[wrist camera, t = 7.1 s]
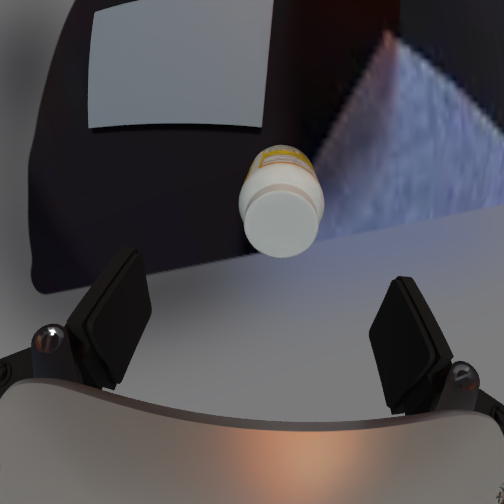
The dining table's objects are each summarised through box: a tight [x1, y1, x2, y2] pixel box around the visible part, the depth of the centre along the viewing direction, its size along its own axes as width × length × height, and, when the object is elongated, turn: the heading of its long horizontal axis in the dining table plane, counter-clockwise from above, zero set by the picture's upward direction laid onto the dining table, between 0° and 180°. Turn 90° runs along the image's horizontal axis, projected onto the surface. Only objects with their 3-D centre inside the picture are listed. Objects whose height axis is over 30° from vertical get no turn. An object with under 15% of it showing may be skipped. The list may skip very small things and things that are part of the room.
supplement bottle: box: [239, 145, 324, 258], centre depth 19 cm, size 5×5×10 cm
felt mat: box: [88, 0, 274, 128], centre depth 18 cm, size 16×12×1 cm
